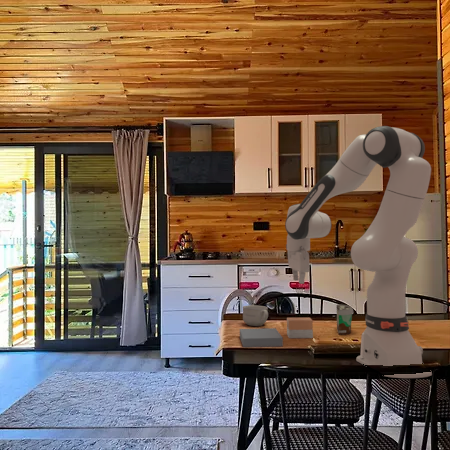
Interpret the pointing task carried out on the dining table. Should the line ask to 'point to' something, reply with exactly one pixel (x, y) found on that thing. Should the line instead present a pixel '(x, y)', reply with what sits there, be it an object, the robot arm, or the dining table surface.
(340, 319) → the food container
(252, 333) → the stand
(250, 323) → the teacup
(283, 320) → the dining table surface
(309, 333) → the housing base
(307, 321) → the housing cover
